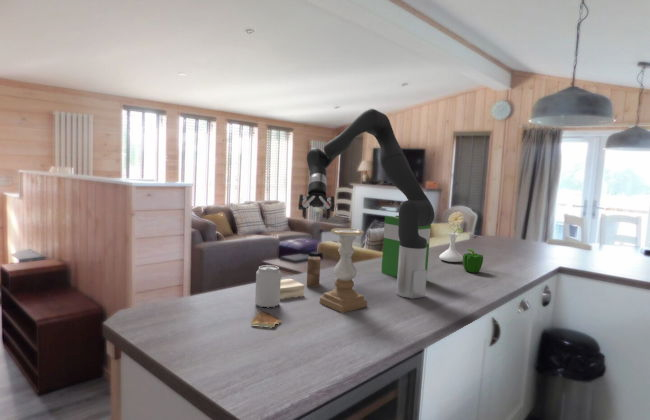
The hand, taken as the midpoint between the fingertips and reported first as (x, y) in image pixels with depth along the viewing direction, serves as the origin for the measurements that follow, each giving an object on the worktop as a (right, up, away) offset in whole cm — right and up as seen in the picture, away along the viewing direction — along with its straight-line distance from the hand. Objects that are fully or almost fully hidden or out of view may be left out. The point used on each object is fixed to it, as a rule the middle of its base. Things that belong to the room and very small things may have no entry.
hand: (315, 217), depth 162 cm
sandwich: (-14, -28, -47) cm, 57 cm away
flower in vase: (+66, -23, +43) cm, 82 cm away
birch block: (-10, -26, -22) cm, 35 cm away
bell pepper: (+69, -25, +24) cm, 77 cm away
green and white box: (+36, -25, +9) cm, 44 cm away
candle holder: (+9, -27, -30) cm, 41 cm away
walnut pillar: (-1, -24, -9) cm, 26 cm away
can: (-14, -26, -34) cm, 45 cm away
